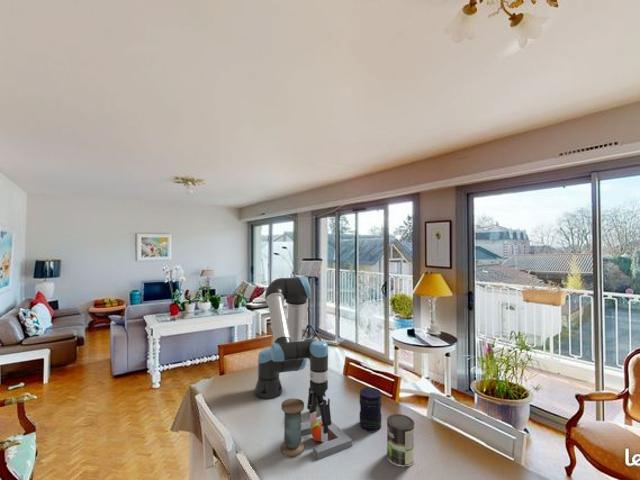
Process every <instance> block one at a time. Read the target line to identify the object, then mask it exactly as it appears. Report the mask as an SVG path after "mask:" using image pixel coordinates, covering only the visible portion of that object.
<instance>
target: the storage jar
mask: <svg viewBox="0 0 640 480" xmlns="http://www.w3.org/2000/svg"><path fill="white" fill-rule="evenodd" d="M359 406H360V409H359V427H360V429H362V430H364V431H367V432H371V433H372V432H379V431H380V430H381V429H382V421H383V420H382V412H381V411H382V391H381V390H380V389H378V388H375V387H369V386H368V387H363V388H361V389H360V390H359Z"/></svg>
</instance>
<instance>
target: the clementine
mask: <svg viewBox="0 0 640 480" xmlns="http://www.w3.org/2000/svg"><path fill="white" fill-rule="evenodd" d="M321 424H322V422H317V423H315V424H314V425H313V426H312V428H311V429H312V431H311V430H310V431H311V432H312V433H311V436H312V438H313V440H315V441H316V442H322V441H321Z"/></svg>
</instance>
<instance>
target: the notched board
mask: <svg viewBox="0 0 640 480" xmlns="http://www.w3.org/2000/svg"><path fill="white" fill-rule="evenodd" d="M317 422H322V419H321V418H318V419H316V423H317ZM310 430H311V431H312V429H310V421H308V422H304V423H301V437H303V436H307V435H310V434H312V432H311V431H310ZM328 436H330V437H331V438H332V439H331V440H327V441H324V442H322V443H321V444H316V445H315V446H312V454H313V455H314V457H315V458H316V459H317V460H320V459H323V458H325V457H328V456H330V455H333V454H336V453H339V452H340V451H343V450H346V449H349V448H352V447H353V439H352V438H351V437H350V436H349V435H348V434H347V433H345V431H344V430H342V429H341V428H340V427H339V426H337V424H335V423H334V422H333V421H332V420H331V425H329V426H328Z"/></svg>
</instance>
